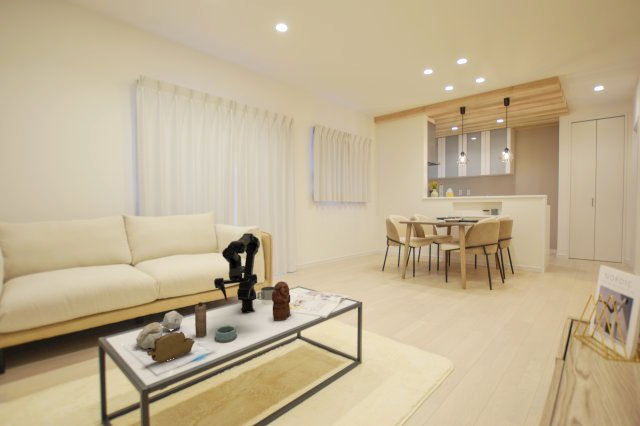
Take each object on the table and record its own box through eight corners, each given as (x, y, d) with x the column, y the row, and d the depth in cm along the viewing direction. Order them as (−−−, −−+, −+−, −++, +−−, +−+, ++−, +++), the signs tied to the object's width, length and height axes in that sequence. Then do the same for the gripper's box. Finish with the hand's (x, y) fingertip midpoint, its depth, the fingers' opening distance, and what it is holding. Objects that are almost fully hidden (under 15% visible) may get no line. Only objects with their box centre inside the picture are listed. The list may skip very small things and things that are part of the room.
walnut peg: (195, 334, 141) (194, 301, 141) (206, 332, 143) (205, 300, 142) (195, 338, 137) (195, 304, 137) (207, 336, 139) (206, 303, 138)
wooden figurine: (282, 322, 154) (282, 285, 154) (271, 320, 156) (270, 284, 156) (292, 314, 166) (292, 279, 165) (281, 312, 168) (281, 278, 167)
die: (158, 334, 143) (168, 319, 140) (158, 319, 149) (167, 305, 147) (177, 336, 148) (186, 321, 145) (175, 321, 154) (185, 307, 152)
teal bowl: (213, 335, 140) (213, 327, 140) (235, 332, 144) (234, 324, 143) (215, 344, 131) (215, 335, 131) (238, 340, 135) (238, 331, 135)
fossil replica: (143, 354, 124) (168, 347, 132) (146, 333, 124) (170, 327, 132) (129, 343, 131) (154, 337, 139) (131, 323, 131) (156, 318, 139)
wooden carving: (190, 349, 127) (189, 324, 127) (195, 353, 124) (194, 327, 124) (145, 365, 116) (144, 337, 115) (149, 369, 112) (148, 341, 112)
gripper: (212, 262, 141) (212, 297, 133) (255, 257, 145) (258, 291, 138) (215, 271, 150) (215, 304, 143) (255, 266, 155) (258, 298, 147)
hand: (237, 299), depth 142 cm, fingers open, 9 cm apart
